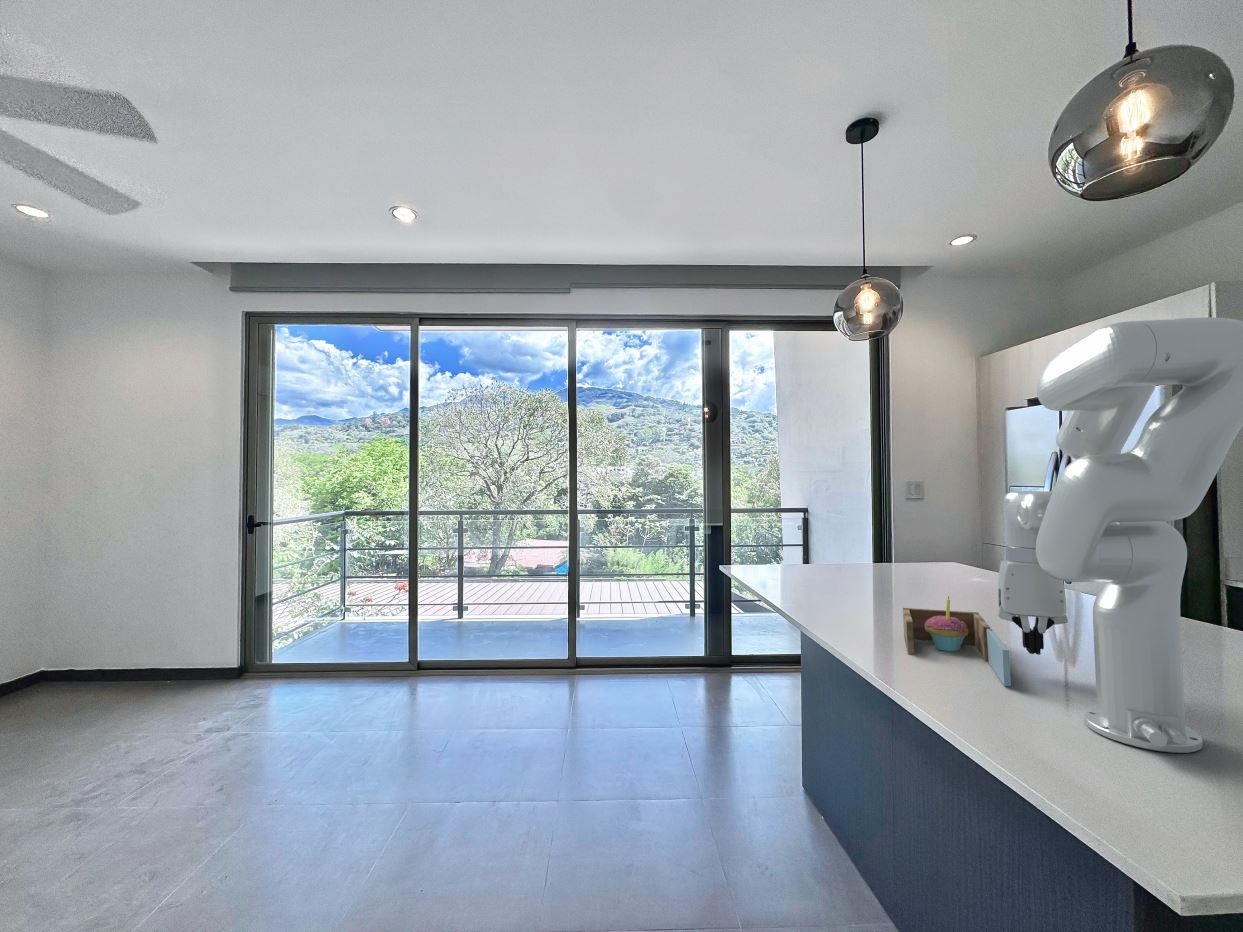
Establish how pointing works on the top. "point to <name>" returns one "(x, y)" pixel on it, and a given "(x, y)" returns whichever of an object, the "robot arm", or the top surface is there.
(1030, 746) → the top surface
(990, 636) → the blue grey rectangular panel
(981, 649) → the wooden box
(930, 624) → the cupcake
